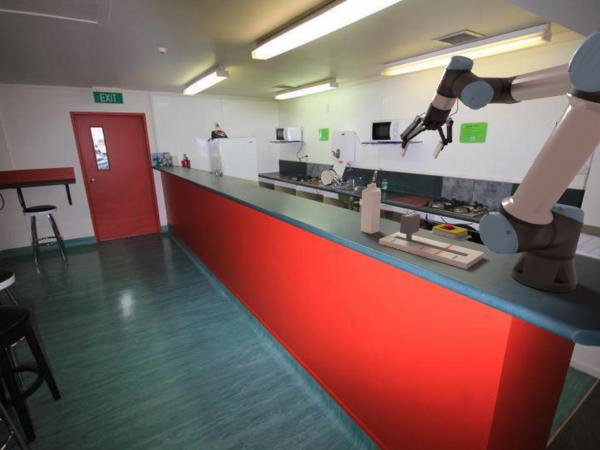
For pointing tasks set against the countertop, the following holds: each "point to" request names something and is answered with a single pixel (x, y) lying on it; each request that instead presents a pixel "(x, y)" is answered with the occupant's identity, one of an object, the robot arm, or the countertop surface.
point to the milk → (370, 209)
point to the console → (434, 250)
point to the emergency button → (451, 231)
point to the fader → (409, 224)
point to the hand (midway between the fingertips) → (418, 155)
